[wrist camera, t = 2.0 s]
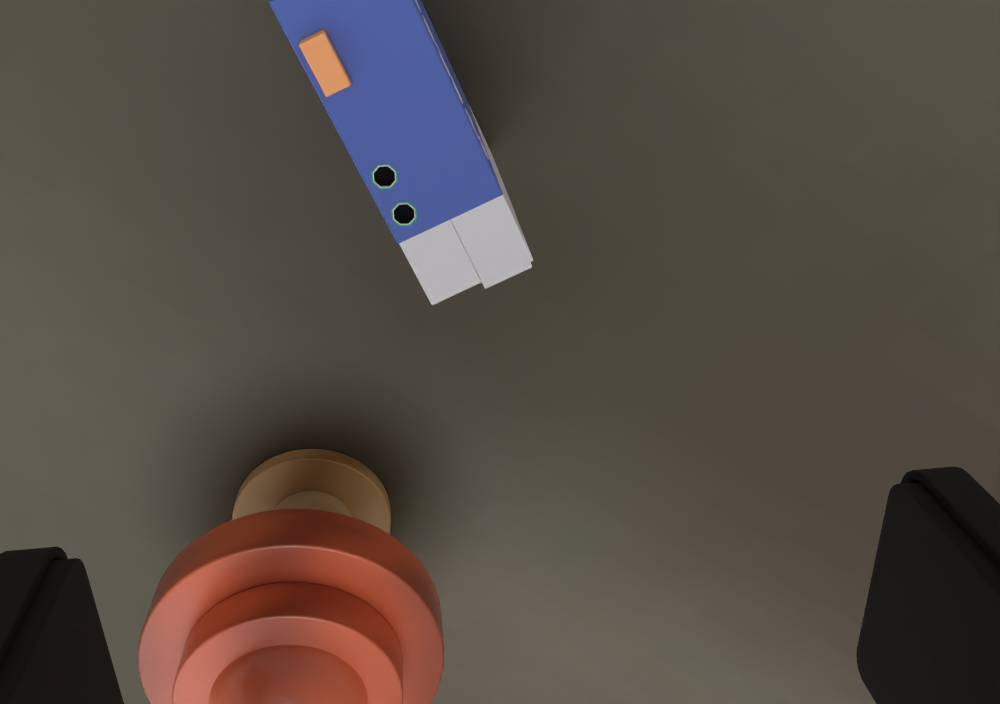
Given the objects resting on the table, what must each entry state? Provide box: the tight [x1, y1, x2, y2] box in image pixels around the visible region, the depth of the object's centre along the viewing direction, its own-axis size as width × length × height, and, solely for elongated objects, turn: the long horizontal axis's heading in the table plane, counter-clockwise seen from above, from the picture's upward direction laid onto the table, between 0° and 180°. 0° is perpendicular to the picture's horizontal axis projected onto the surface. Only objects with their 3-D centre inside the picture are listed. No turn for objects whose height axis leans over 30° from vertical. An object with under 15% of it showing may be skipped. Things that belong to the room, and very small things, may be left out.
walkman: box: [269, 0, 533, 305], centre depth 25 cm, size 8×3×12 cm, turn 24°
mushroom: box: [138, 449, 444, 704], centre depth 33 cm, size 10×10×12 cm
